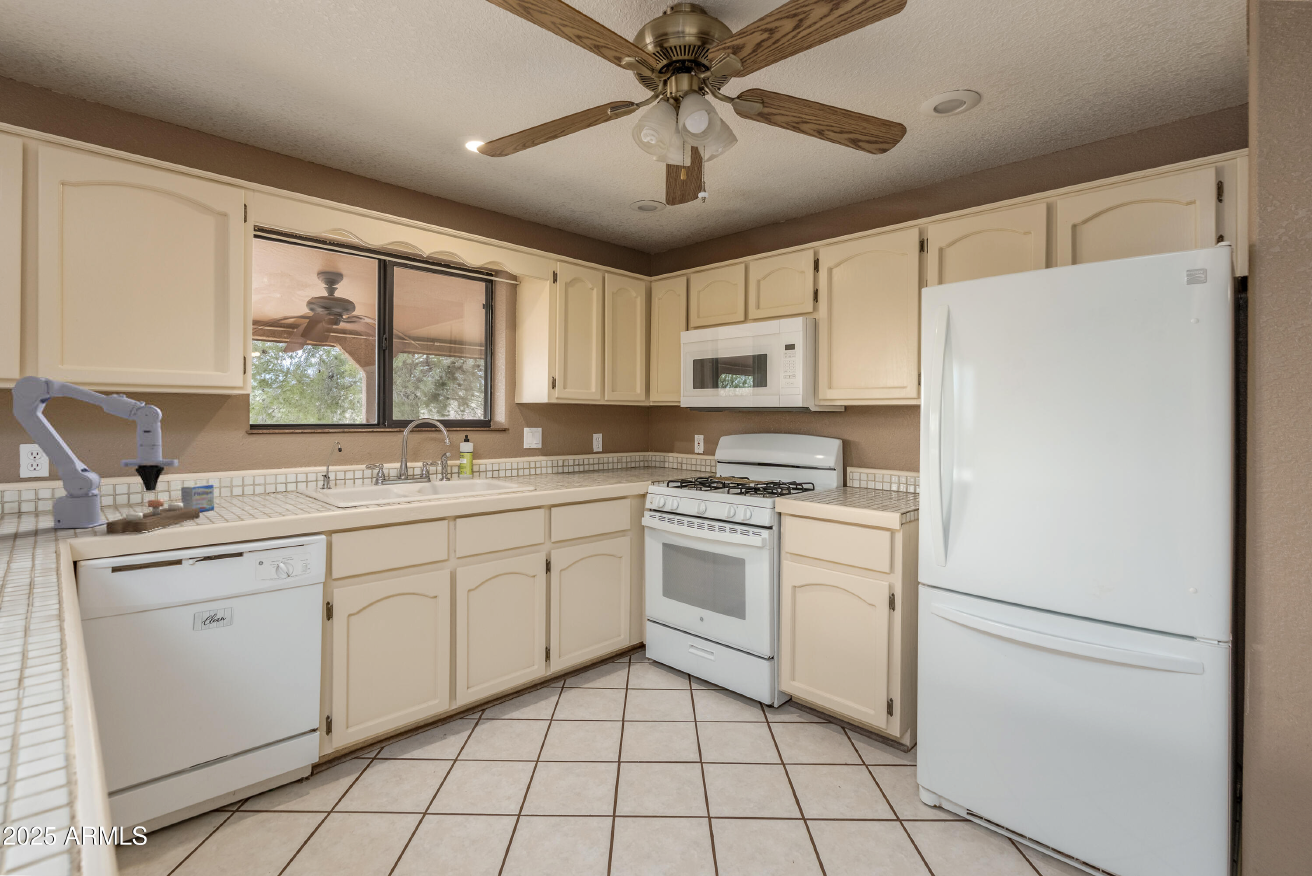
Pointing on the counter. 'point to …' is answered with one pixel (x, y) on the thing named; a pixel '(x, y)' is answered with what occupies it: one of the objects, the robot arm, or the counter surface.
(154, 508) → the knob middle
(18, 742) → the counter surface
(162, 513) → the rack
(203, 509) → the medicine box
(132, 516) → the knob
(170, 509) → the knob
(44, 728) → the counter surface
